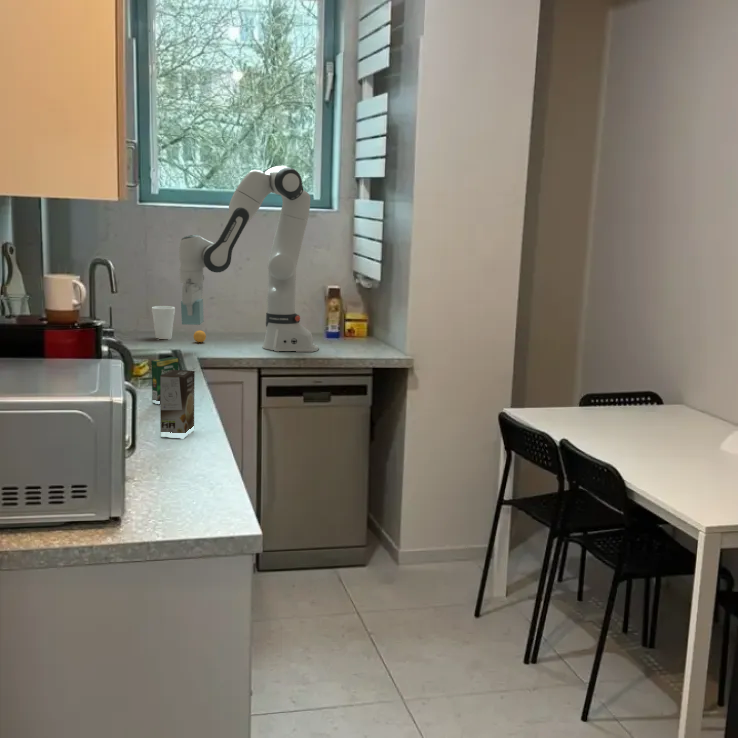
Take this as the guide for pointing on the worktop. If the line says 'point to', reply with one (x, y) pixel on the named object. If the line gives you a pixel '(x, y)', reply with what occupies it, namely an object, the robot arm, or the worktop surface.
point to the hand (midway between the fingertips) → (192, 313)
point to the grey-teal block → (197, 313)
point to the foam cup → (163, 321)
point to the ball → (199, 336)
